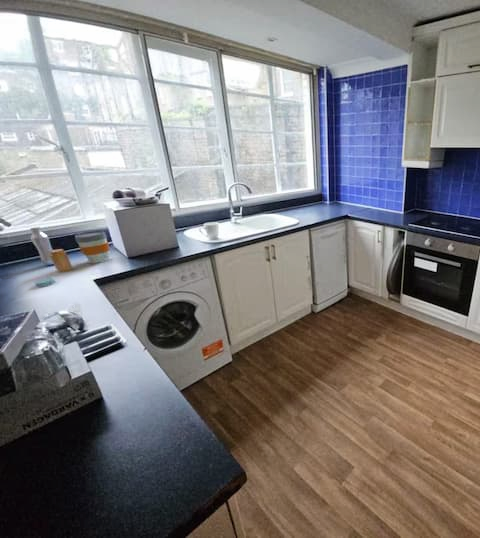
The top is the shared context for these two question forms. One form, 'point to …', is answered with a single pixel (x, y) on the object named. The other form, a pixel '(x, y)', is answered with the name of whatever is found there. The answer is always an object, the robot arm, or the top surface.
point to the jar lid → (44, 282)
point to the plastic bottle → (42, 245)
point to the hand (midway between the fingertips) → (7, 227)
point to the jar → (60, 260)
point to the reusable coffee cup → (94, 246)
